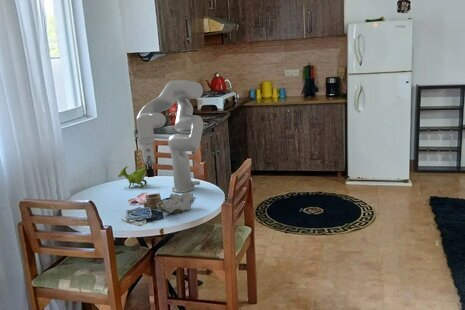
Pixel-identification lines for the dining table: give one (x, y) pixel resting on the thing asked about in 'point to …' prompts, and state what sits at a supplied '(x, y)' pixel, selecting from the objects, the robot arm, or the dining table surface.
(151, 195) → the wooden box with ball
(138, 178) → the toy
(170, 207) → the rock
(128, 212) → the tray
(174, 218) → the dining table surface
